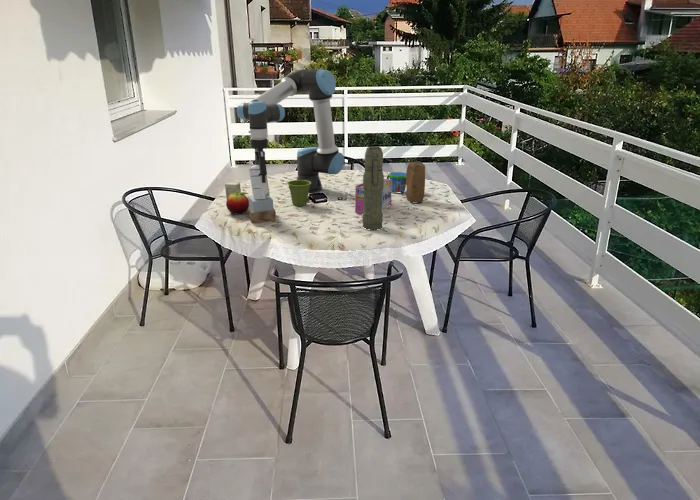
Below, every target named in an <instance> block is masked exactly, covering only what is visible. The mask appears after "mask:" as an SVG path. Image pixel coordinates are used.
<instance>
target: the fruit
mask: <svg viewBox="0 0 700 500" xmlns="http://www.w3.org/2000/svg"><path fill="white" fill-rule="evenodd" d="M248 194H249V193H248V192H244V191H241V193H238V192H236V193H234V194H230V195H229V197H228V199H226V203H225V206H226V209H227V210H228V211H229V212H230V213H231V214H232V215H233V214H234V215H242V214H245V213H246V212H248V207H249V198H248V196H247V195H248Z"/></svg>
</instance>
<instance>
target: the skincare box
mask: <svg viewBox="0 0 700 500" xmlns="http://www.w3.org/2000/svg"><path fill="white" fill-rule="evenodd" d="M224 189H225V197H226V199H225V200H227V199H228V197H229V195H230V194H234V193H236V192H238V193H241V192H242V190H241V183H240V182H230V181H229V182H227V183H224Z"/></svg>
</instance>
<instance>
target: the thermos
mask: <svg viewBox="0 0 700 500" xmlns="http://www.w3.org/2000/svg"><path fill="white" fill-rule="evenodd" d="M383 163H384V152H383V149H382V147H380V146H377V145H375V146H374V145H371V146H368V147H366V150H365V153H364V173H363V175H362V184H363V189H364V210H363V215H361V216H362V218H361V219H362V220H361V222H362V228H363V227H364V228H366V229H370V230H369V231H378V230H377V229H380V230H382V229H383V223H384V212H383V210H382V190H383V188H384V179H385V174H384V171H383V165H384V164H383ZM364 228H363V229H364ZM381 228H382V229H381ZM366 229H365V230H366Z"/></svg>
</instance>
